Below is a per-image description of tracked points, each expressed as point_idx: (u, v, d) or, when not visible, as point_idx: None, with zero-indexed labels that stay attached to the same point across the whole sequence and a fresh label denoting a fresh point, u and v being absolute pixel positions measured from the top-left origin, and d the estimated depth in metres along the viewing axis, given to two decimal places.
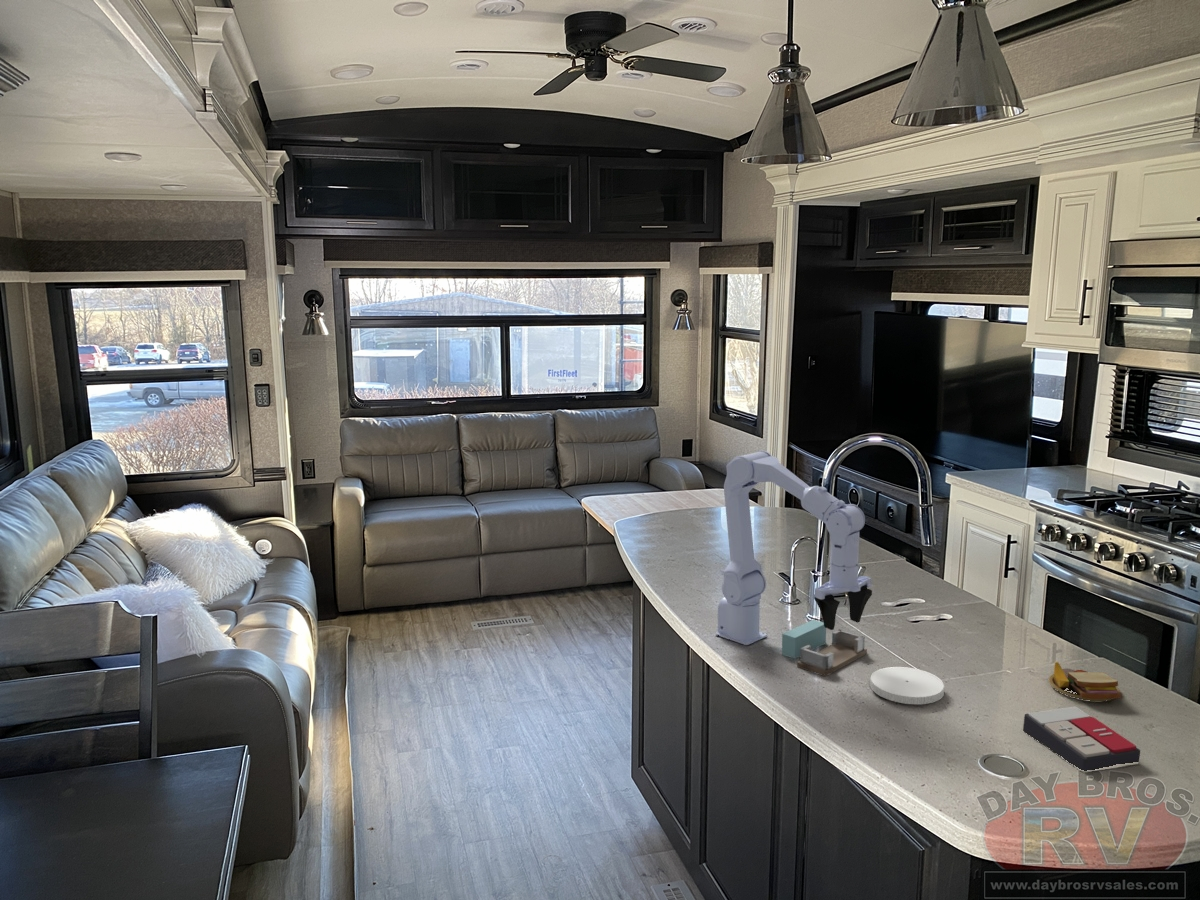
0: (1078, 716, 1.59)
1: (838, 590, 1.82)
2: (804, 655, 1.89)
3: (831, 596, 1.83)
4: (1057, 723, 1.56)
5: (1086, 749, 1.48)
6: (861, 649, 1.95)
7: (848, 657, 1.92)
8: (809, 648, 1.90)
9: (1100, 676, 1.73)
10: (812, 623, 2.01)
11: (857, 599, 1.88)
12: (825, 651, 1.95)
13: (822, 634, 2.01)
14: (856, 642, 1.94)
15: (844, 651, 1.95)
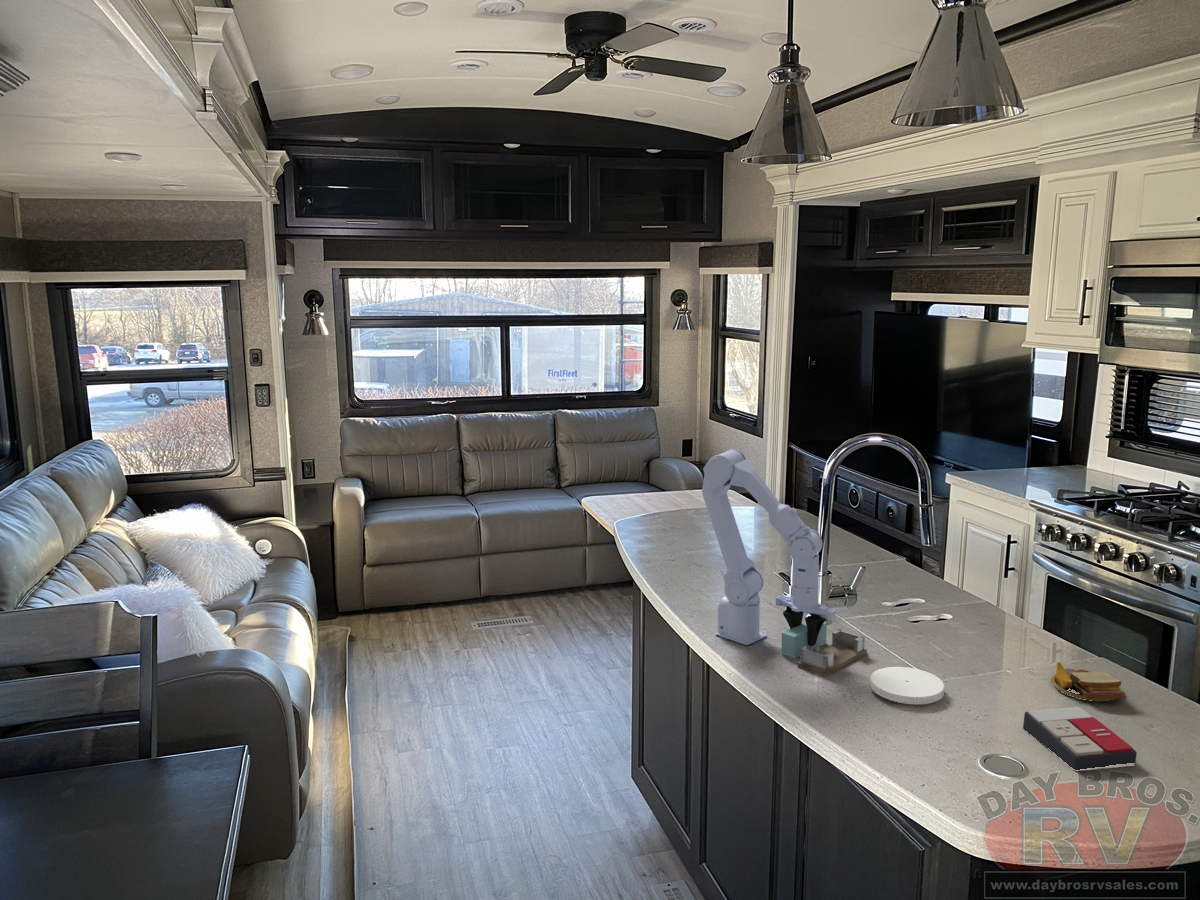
0: (1080, 716, 1.58)
1: (786, 603, 1.99)
2: (804, 655, 1.89)
3: None
4: (1055, 722, 1.56)
5: (1079, 748, 1.48)
6: (861, 649, 1.95)
7: (848, 657, 1.92)
8: (809, 648, 1.90)
9: (1103, 676, 1.73)
10: None
11: None
12: (825, 651, 1.95)
13: (822, 633, 2.01)
14: (856, 642, 1.94)
15: (844, 651, 1.95)
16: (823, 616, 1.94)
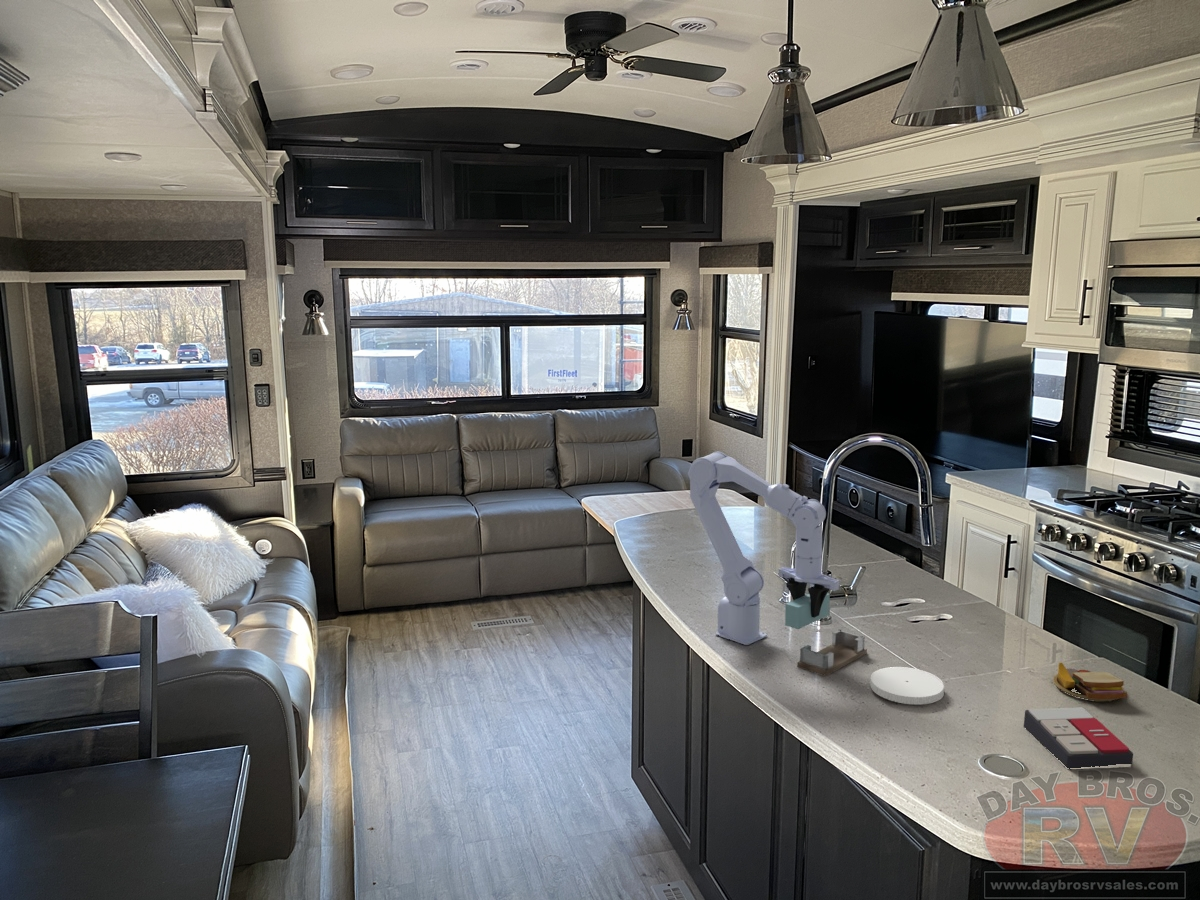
0: (1081, 716, 1.58)
1: (789, 574, 1.97)
2: (804, 655, 1.89)
3: (796, 580, 1.97)
4: (1054, 721, 1.57)
5: (1073, 746, 1.49)
6: (861, 649, 1.95)
7: (848, 657, 1.92)
8: (809, 648, 1.90)
9: (1105, 676, 1.73)
10: None
11: None
12: (825, 651, 1.95)
13: (825, 605, 1.99)
14: (856, 642, 1.94)
15: (844, 651, 1.95)
16: (827, 586, 1.92)
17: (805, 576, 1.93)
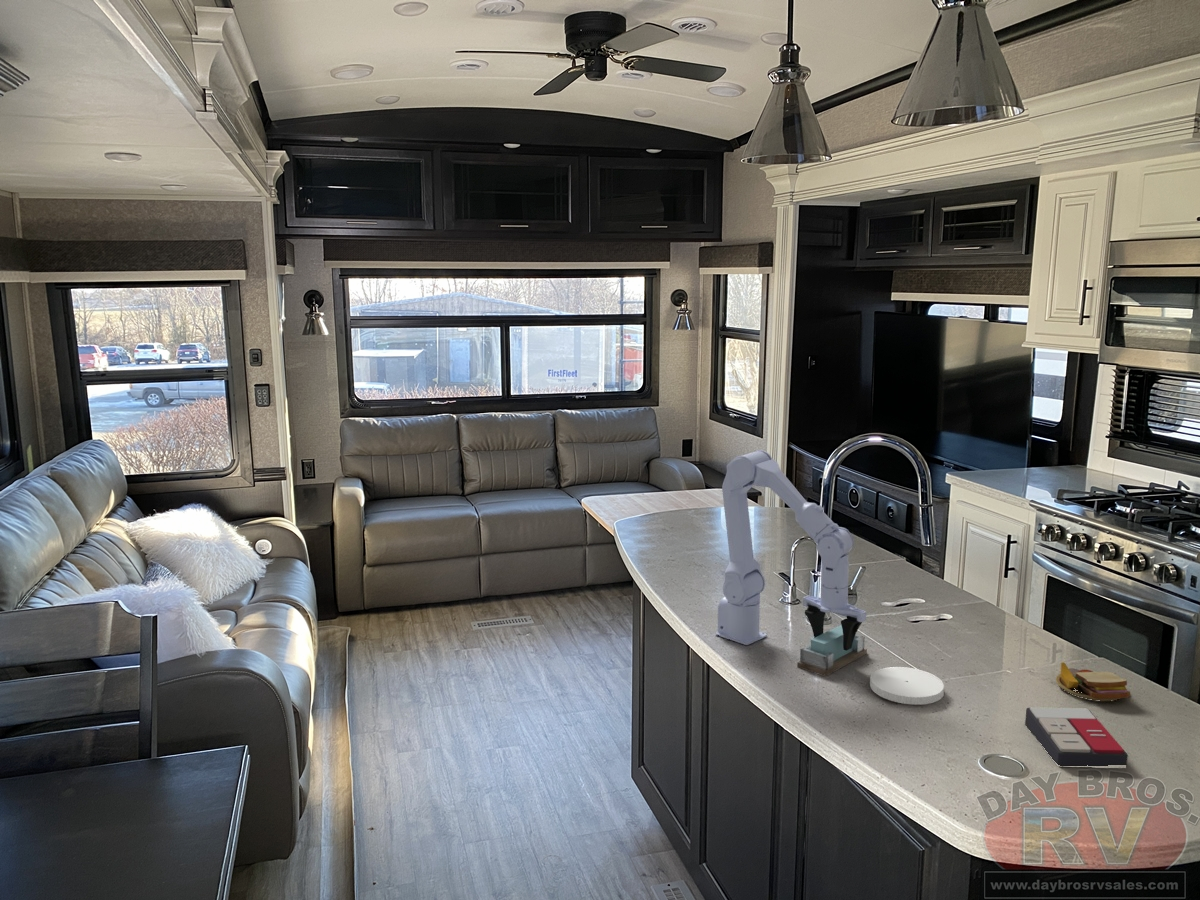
0: (1082, 717, 1.58)
1: (814, 604, 1.92)
2: (804, 655, 1.89)
3: (815, 608, 1.93)
4: (1053, 719, 1.57)
5: (1065, 744, 1.49)
6: (861, 649, 1.95)
7: (848, 657, 1.92)
8: (809, 648, 1.90)
9: (1108, 675, 1.73)
10: (841, 628, 1.95)
11: None
12: None
13: None
14: (856, 642, 1.94)
15: None
16: (853, 617, 1.87)
17: (831, 606, 1.88)
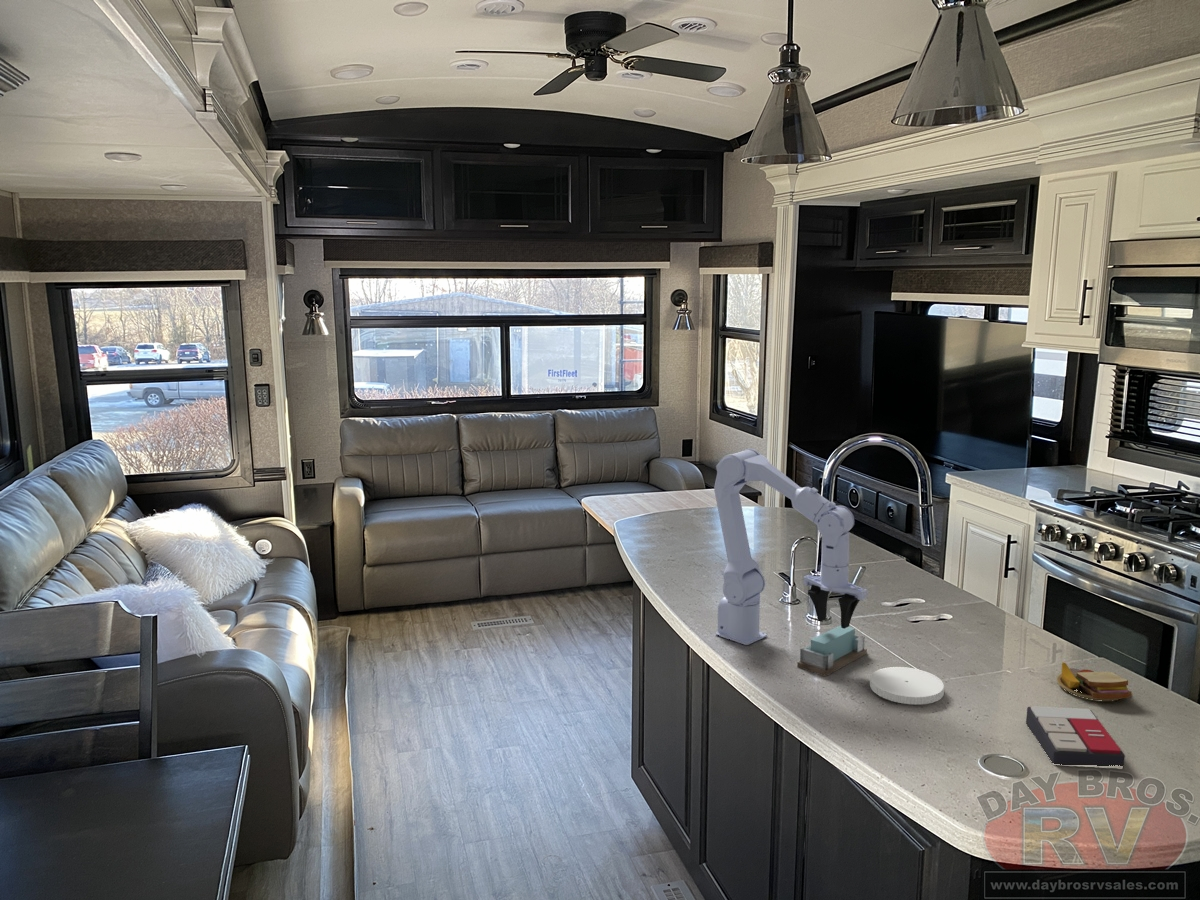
0: (1083, 717, 1.58)
1: (815, 583, 1.91)
2: (804, 655, 1.89)
3: (818, 588, 1.92)
4: (1052, 718, 1.57)
5: (1062, 743, 1.50)
6: (861, 649, 1.95)
7: (848, 657, 1.92)
8: (809, 648, 1.90)
9: (1109, 675, 1.73)
10: (841, 628, 1.95)
11: None
12: None
13: (851, 640, 1.94)
14: (856, 642, 1.94)
15: None
16: (854, 595, 1.86)
17: (831, 585, 1.87)
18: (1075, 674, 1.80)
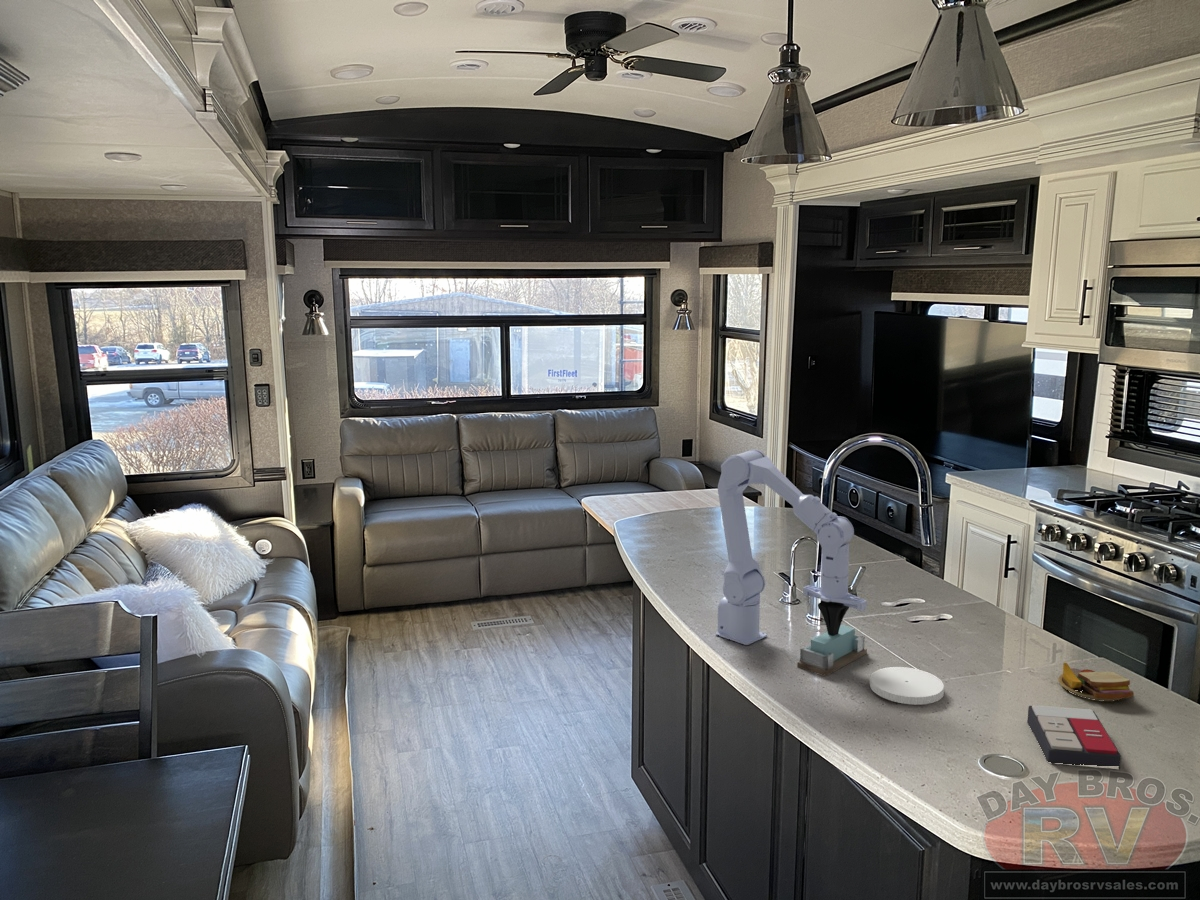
0: (1084, 717, 1.58)
1: (815, 593, 1.92)
2: (804, 655, 1.89)
3: (828, 601, 1.91)
4: (1052, 718, 1.58)
5: (1057, 742, 1.50)
6: (861, 649, 1.95)
7: (848, 657, 1.92)
8: (809, 648, 1.90)
9: (1111, 675, 1.73)
10: (841, 628, 1.95)
11: None
12: None
13: (851, 640, 1.94)
14: (856, 642, 1.94)
15: None
16: (853, 606, 1.87)
17: (831, 595, 1.88)
18: (1076, 674, 1.80)
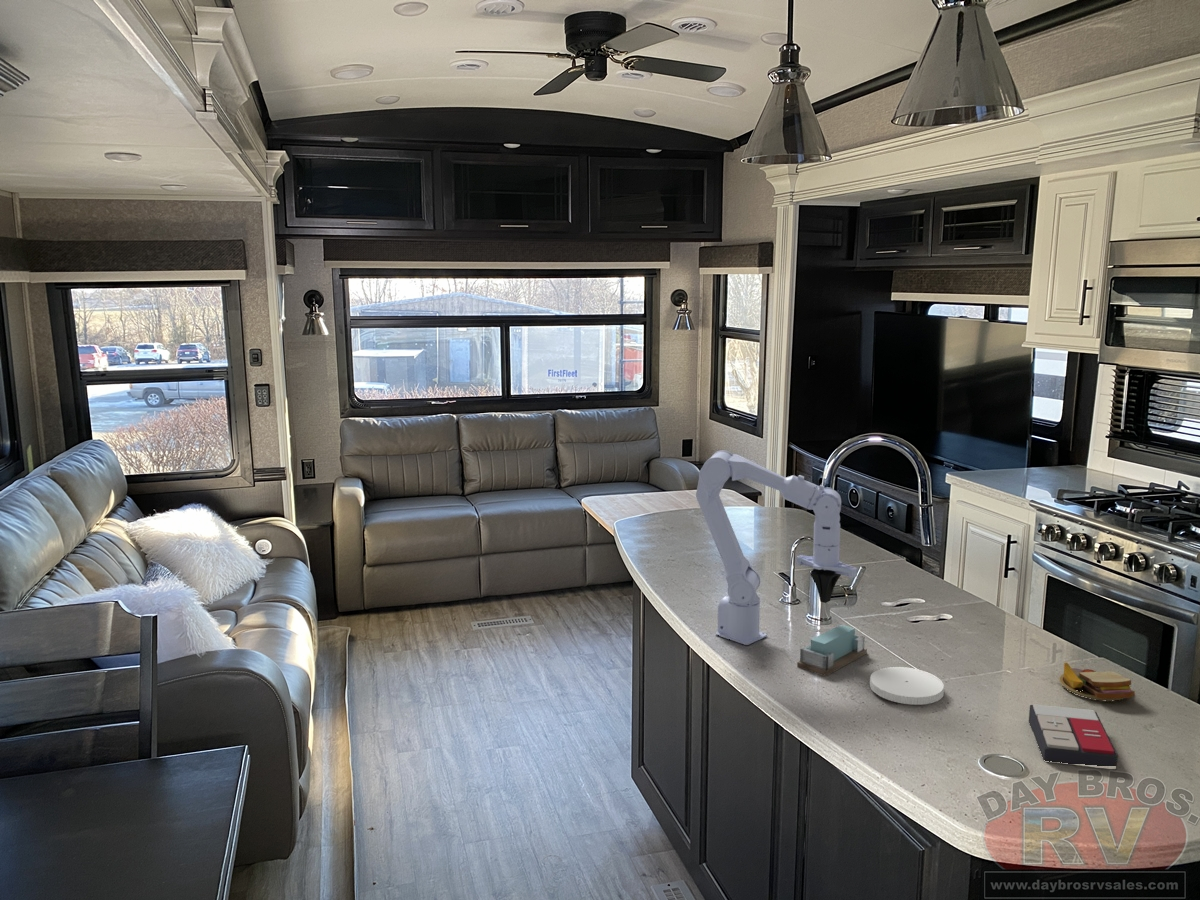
0: (1085, 717, 1.58)
1: (807, 562, 1.99)
2: (804, 655, 1.89)
3: (820, 570, 1.98)
4: (1052, 717, 1.58)
5: (1054, 741, 1.51)
6: (861, 649, 1.95)
7: (848, 657, 1.92)
8: (809, 648, 1.90)
9: (1112, 675, 1.73)
10: (841, 628, 1.95)
11: None
12: None
13: (851, 640, 1.94)
14: (856, 642, 1.94)
15: None
16: (844, 574, 1.94)
17: (823, 563, 1.95)
18: (1077, 674, 1.80)
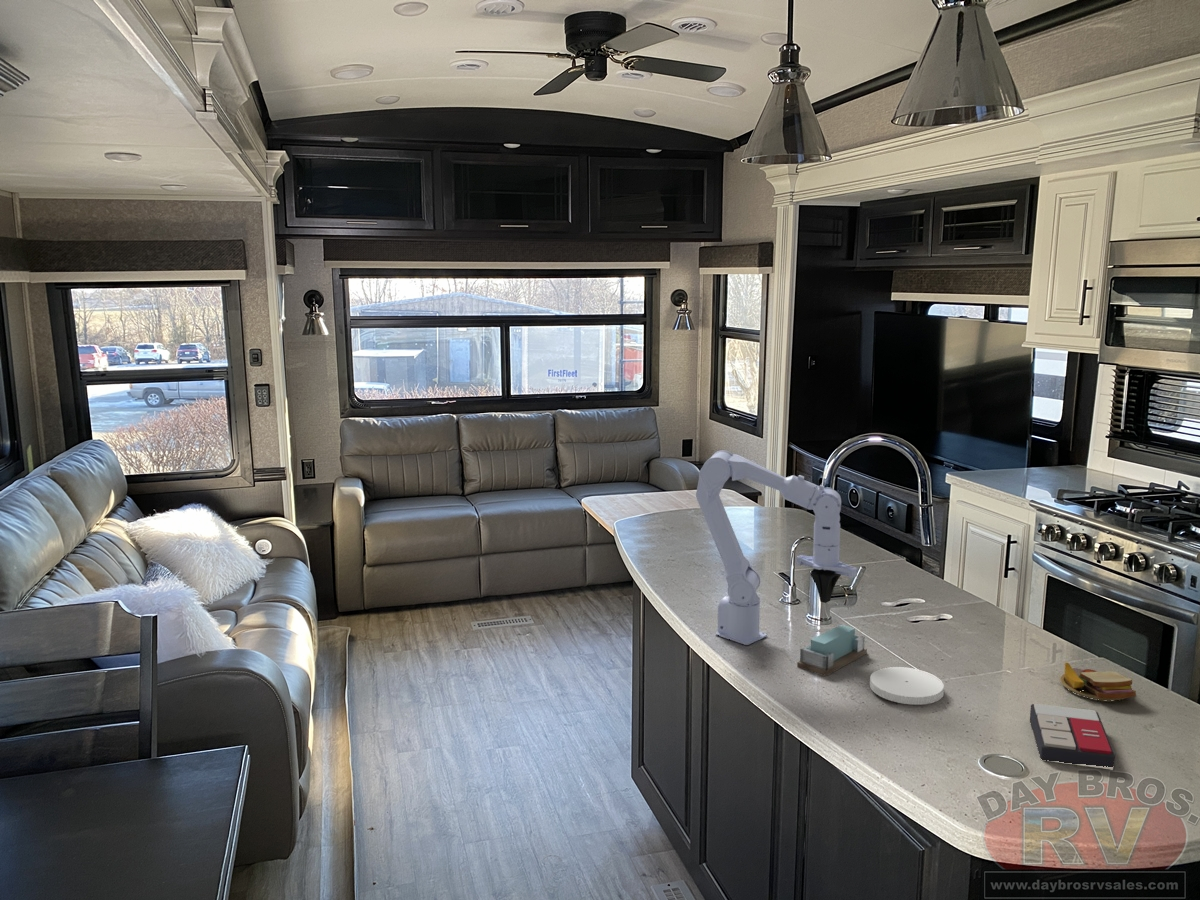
0: (1085, 717, 1.58)
1: (807, 562, 1.99)
2: (804, 655, 1.89)
3: (820, 570, 1.98)
4: (1051, 716, 1.58)
5: (1051, 740, 1.51)
6: (861, 649, 1.95)
7: (848, 657, 1.92)
8: (809, 648, 1.90)
9: (1113, 675, 1.73)
10: (841, 628, 1.95)
11: None
12: None
13: (851, 640, 1.94)
14: (856, 642, 1.94)
15: None
16: (844, 574, 1.94)
17: (823, 563, 1.95)
18: (1078, 674, 1.80)
